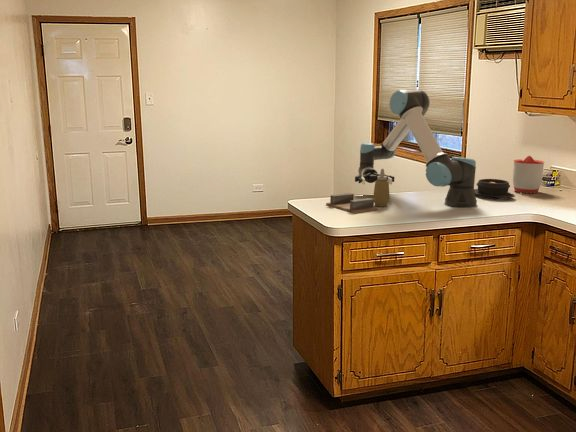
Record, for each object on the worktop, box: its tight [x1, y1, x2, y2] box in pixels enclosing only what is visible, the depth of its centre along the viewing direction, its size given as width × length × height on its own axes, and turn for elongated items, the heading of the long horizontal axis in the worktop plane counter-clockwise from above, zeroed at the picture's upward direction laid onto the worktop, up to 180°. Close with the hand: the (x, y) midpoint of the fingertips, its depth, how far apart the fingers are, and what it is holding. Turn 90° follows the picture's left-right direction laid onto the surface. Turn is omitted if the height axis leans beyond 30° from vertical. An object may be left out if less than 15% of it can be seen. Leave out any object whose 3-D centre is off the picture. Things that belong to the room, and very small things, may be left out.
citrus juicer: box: [512, 155, 545, 194], centre depth 343 cm, size 16×17×20 cm
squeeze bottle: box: [372, 168, 390, 208], centre depth 303 cm, size 8×8×18 cm
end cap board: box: [325, 192, 379, 214], centre depth 300 cm, size 22×14×5 cm, turn 33°
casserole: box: [474, 178, 516, 200], centre depth 329 cm, size 25×19×8 cm
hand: (377, 181), depth 313 cm, fingers open, 13 cm apart
